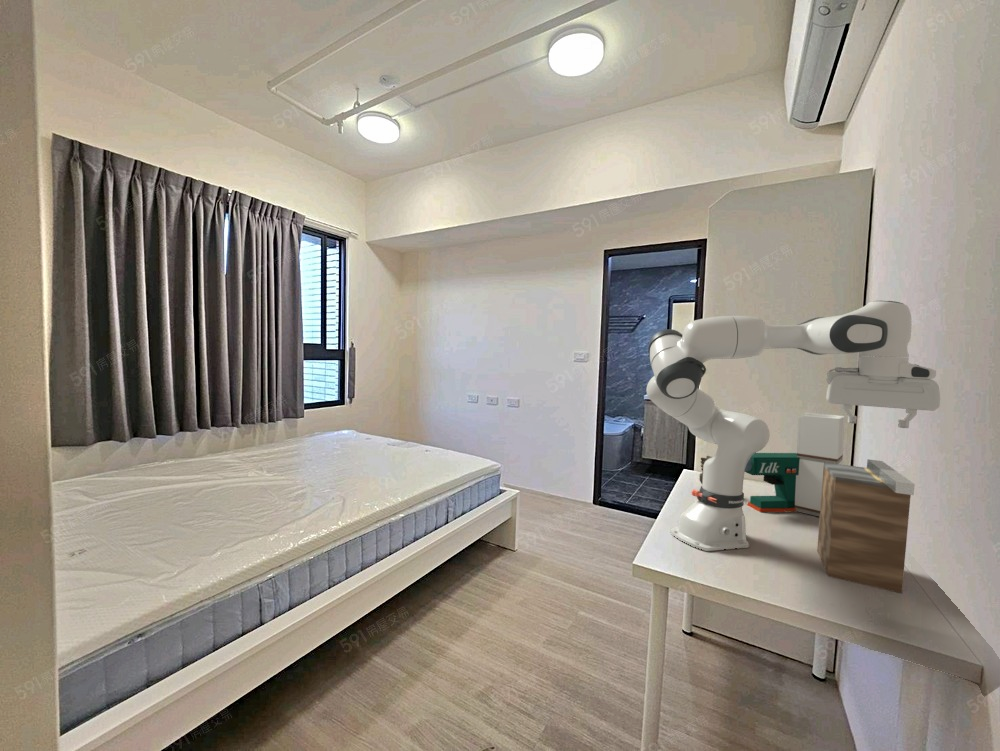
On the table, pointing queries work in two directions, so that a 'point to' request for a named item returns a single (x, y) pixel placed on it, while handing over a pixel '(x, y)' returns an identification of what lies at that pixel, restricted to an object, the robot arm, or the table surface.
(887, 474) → the brushed metal bar
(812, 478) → the white cradle pedestal
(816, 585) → the table surface
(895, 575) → the stand
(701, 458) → the brown carved figurine
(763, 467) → the power tool
